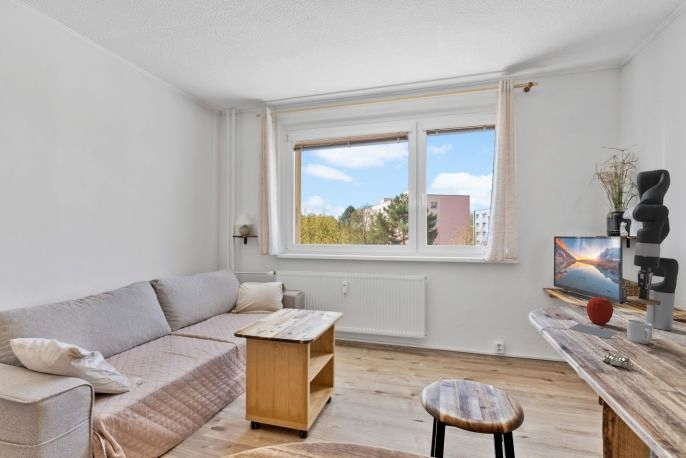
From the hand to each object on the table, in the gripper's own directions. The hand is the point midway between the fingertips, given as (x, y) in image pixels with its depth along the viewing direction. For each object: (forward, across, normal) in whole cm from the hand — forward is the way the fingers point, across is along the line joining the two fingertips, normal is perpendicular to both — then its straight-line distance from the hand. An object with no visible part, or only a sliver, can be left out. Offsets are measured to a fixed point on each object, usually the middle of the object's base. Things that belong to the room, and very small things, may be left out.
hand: (643, 297), depth 134 cm
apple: (+19, -18, -18) cm, 31 cm away
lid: (+2, 0, 0) cm, 2 cm away
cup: (+19, 0, 0) cm, 19 cm away
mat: (+18, 0, -16) cm, 24 cm away
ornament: (+19, +37, +1) cm, 42 cm away
